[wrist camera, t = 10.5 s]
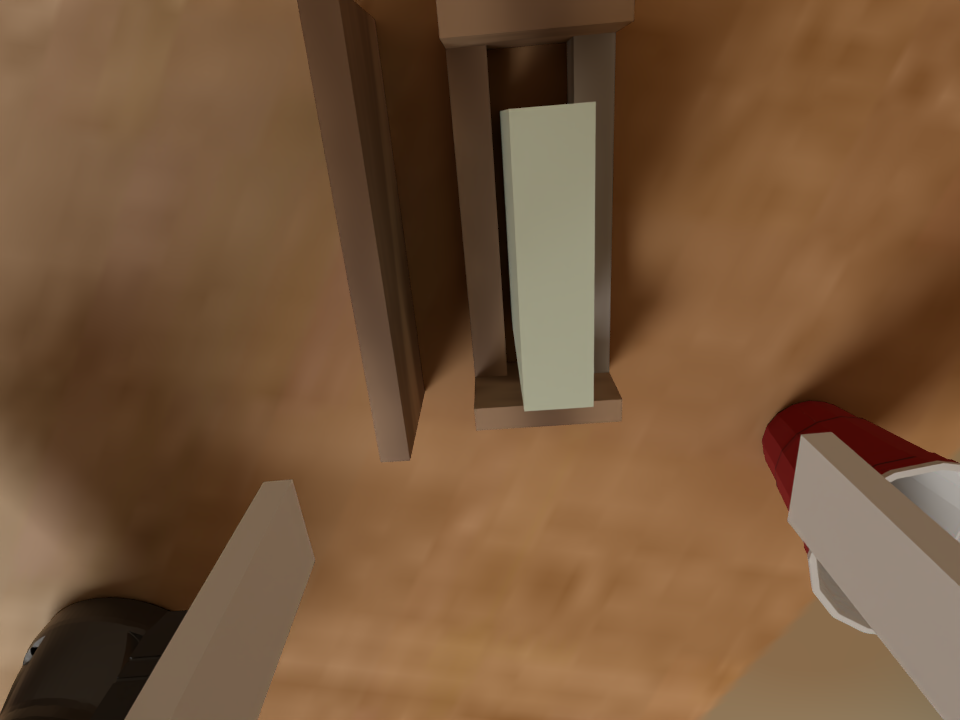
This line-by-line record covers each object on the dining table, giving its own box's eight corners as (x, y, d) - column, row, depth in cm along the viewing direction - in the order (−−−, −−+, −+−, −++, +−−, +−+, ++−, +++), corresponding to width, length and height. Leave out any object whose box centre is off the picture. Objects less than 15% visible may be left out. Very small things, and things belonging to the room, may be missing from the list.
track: (401, 393, 37) (380, 462, 30) (344, 22, 28) (295, -11, 21) (600, 380, 36) (630, 446, 29) (605, -2, 28) (649, -44, 20)
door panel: (511, 318, 35) (524, 411, 24) (499, 111, 30) (508, 109, 19) (558, 314, 35) (593, 406, 24) (554, 106, 30) (595, 101, 19)
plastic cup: (817, 331, 35) (968, 430, 24) (915, 424, 38) (1091, 550, 27) (689, 443, 38) (770, 574, 28) (787, 521, 41) (897, 668, 30)
